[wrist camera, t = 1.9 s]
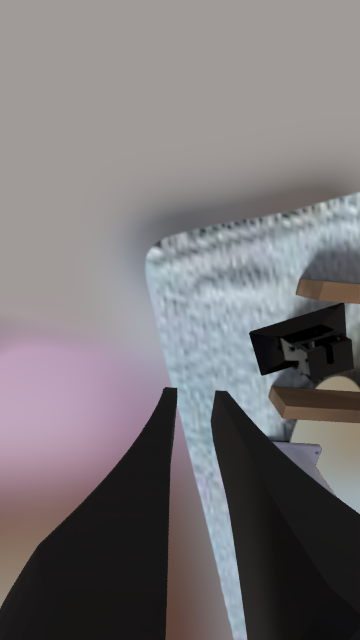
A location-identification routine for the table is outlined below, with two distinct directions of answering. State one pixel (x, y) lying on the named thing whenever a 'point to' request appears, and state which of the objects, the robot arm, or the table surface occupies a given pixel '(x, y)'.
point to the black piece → (306, 344)
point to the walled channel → (314, 400)
